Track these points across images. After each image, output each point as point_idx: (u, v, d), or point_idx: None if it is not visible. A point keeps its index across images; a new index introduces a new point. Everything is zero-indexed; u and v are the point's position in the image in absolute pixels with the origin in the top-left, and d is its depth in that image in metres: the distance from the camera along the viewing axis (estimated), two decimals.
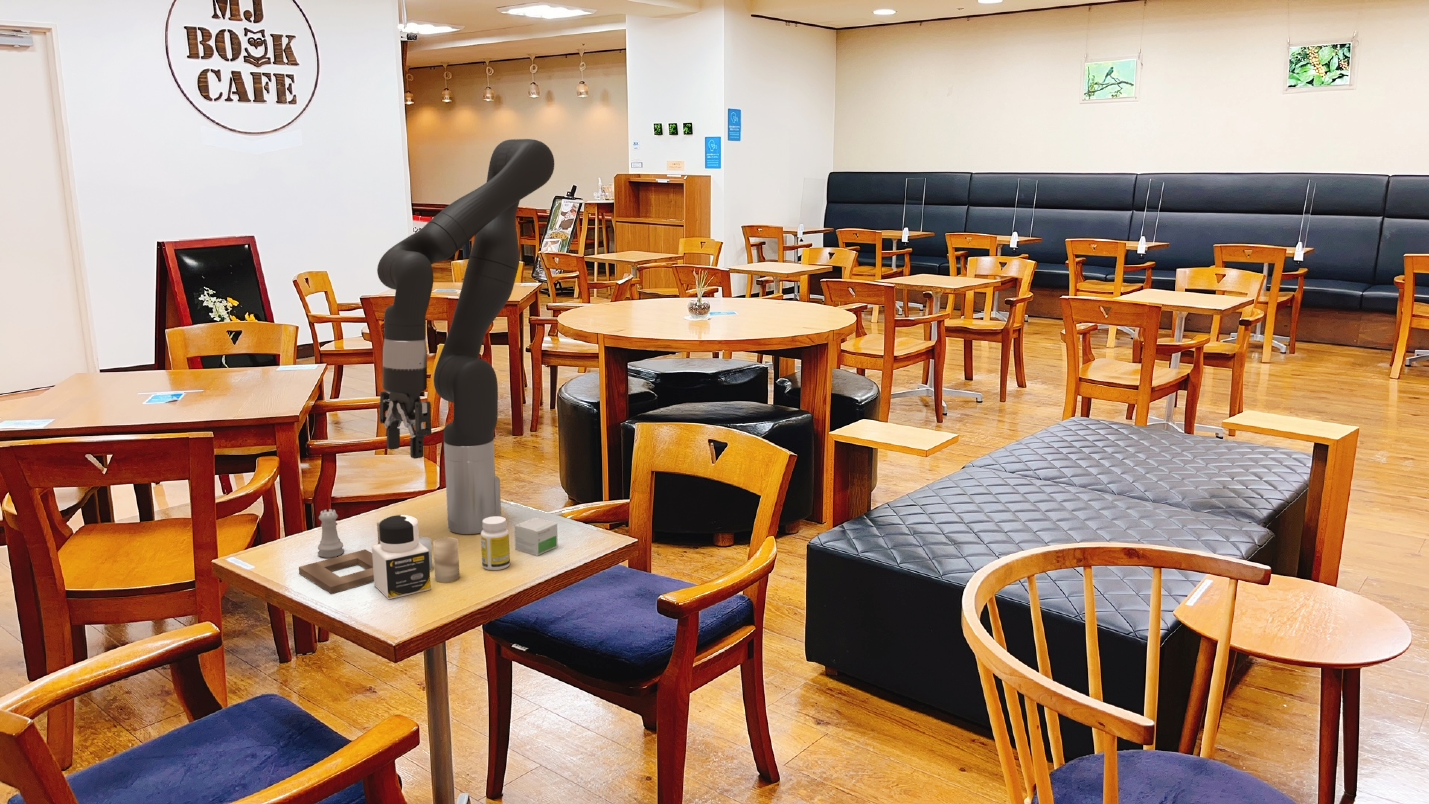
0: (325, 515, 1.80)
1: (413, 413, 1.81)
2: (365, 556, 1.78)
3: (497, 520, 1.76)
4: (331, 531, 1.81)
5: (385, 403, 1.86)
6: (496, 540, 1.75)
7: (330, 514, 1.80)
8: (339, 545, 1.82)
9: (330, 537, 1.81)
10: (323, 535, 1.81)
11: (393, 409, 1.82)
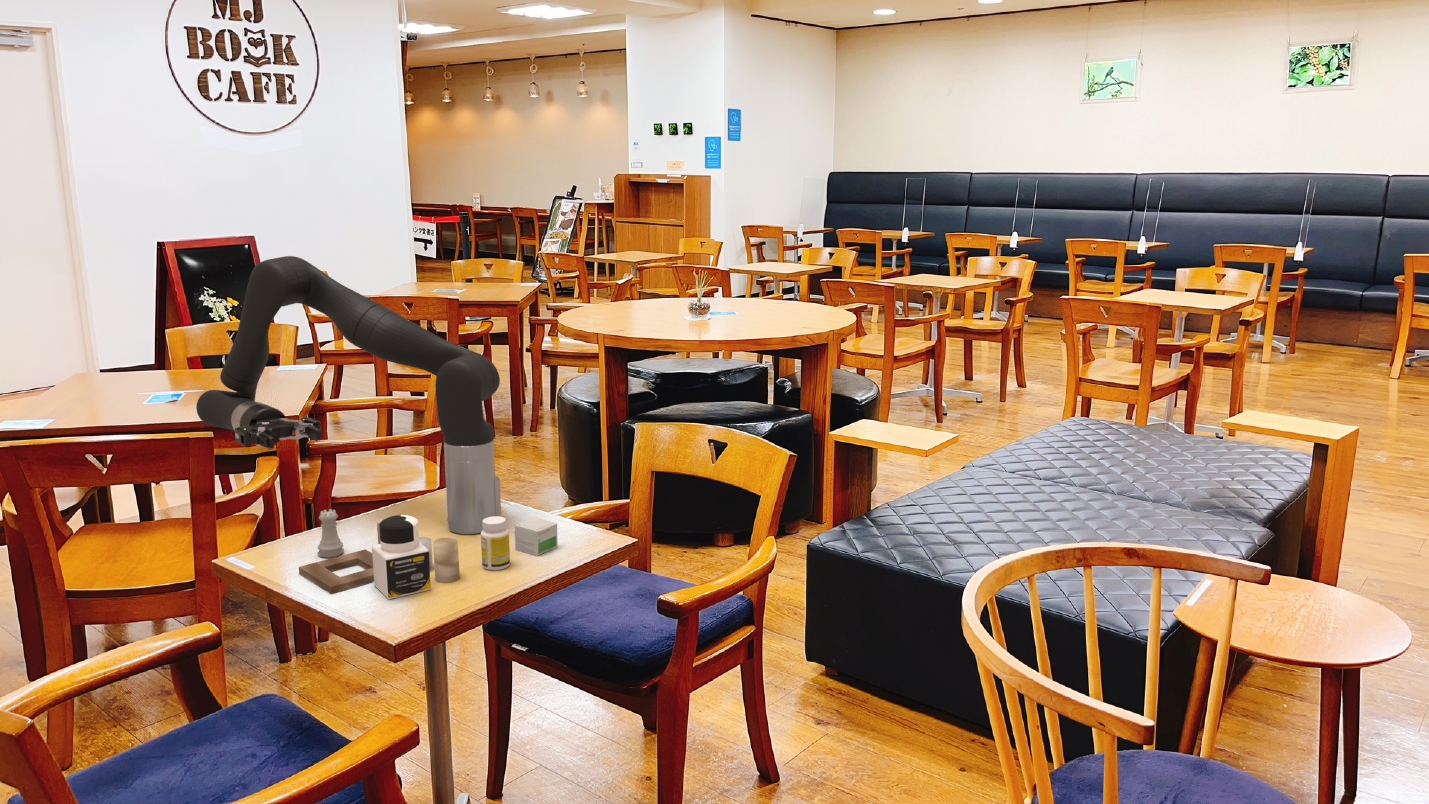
0: (325, 515, 1.80)
1: None
2: (365, 556, 1.78)
3: (497, 520, 1.76)
4: (331, 531, 1.81)
5: None
6: (496, 540, 1.75)
7: (330, 514, 1.80)
8: (339, 545, 1.82)
9: (330, 537, 1.81)
10: (323, 535, 1.81)
11: (284, 437, 1.93)
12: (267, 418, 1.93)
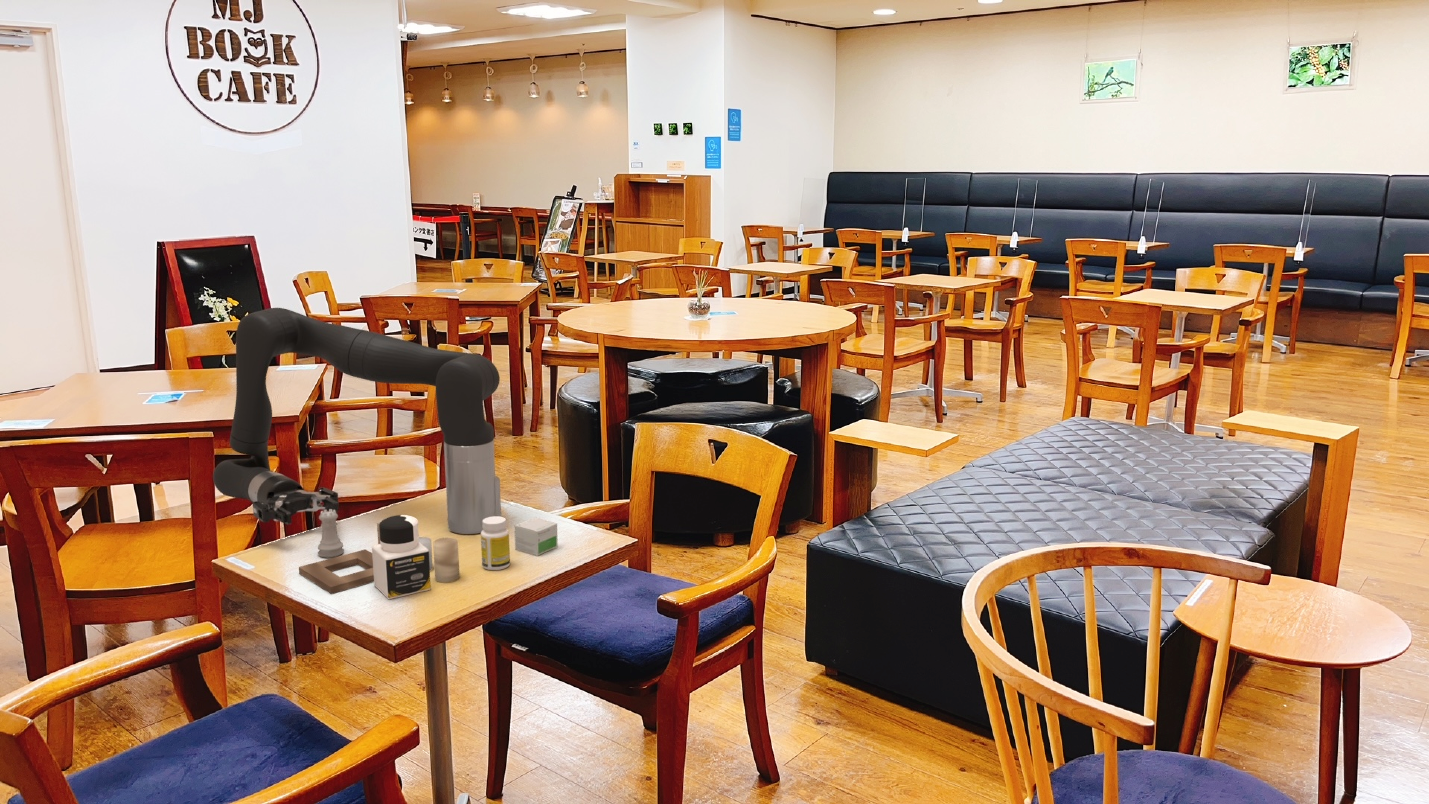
0: (325, 515, 1.80)
1: None
2: (365, 556, 1.78)
3: (497, 520, 1.76)
4: (331, 531, 1.81)
5: (323, 500, 1.95)
6: (496, 540, 1.75)
7: (330, 514, 1.80)
8: (339, 545, 1.82)
9: (330, 537, 1.81)
10: (323, 535, 1.81)
11: (301, 509, 1.92)
12: (284, 490, 1.93)
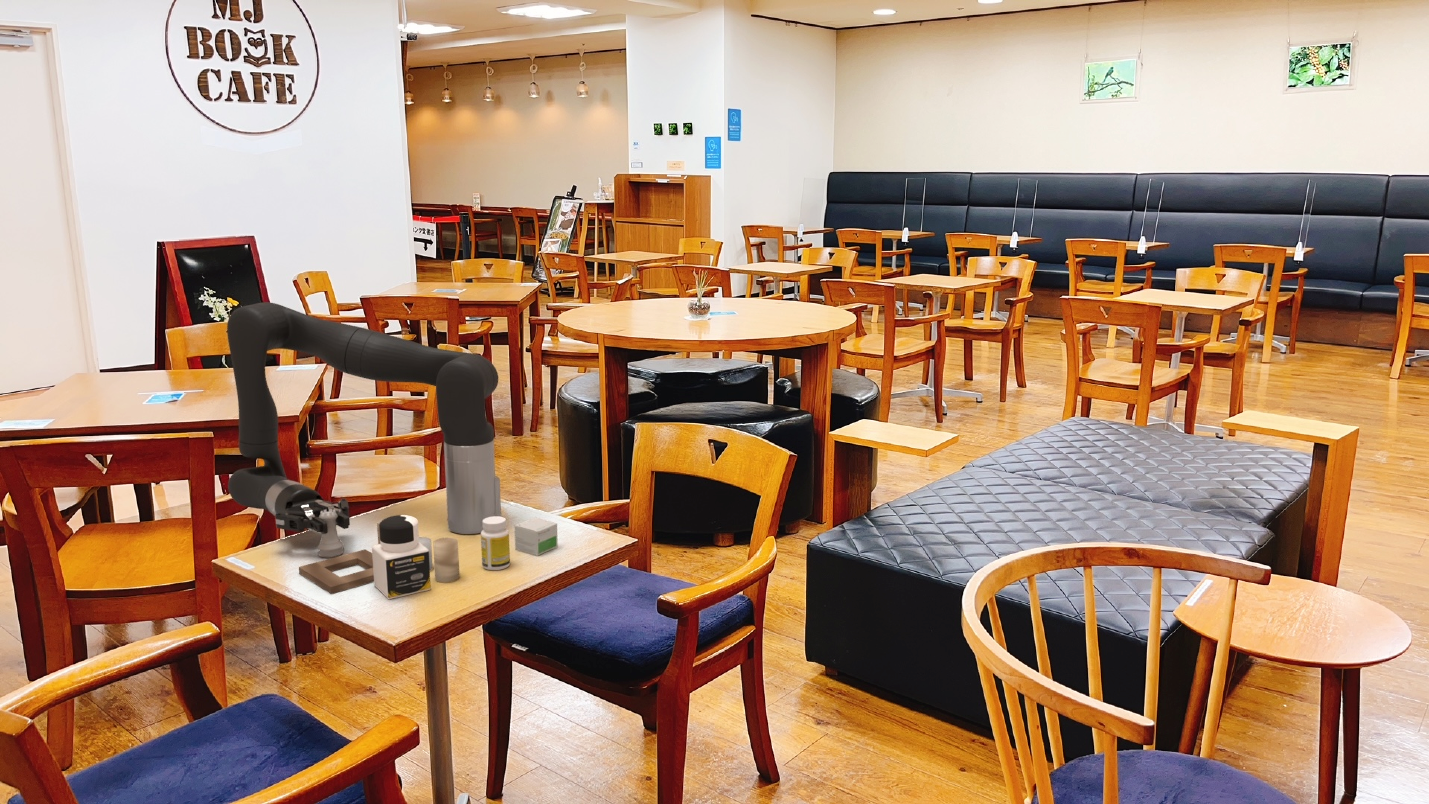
0: (325, 515, 1.80)
1: None
2: (365, 556, 1.78)
3: (497, 520, 1.76)
4: (331, 531, 1.81)
5: None
6: (496, 540, 1.75)
7: (330, 514, 1.80)
8: (339, 545, 1.82)
9: (330, 537, 1.81)
10: (323, 535, 1.81)
11: None
12: (303, 500, 1.87)
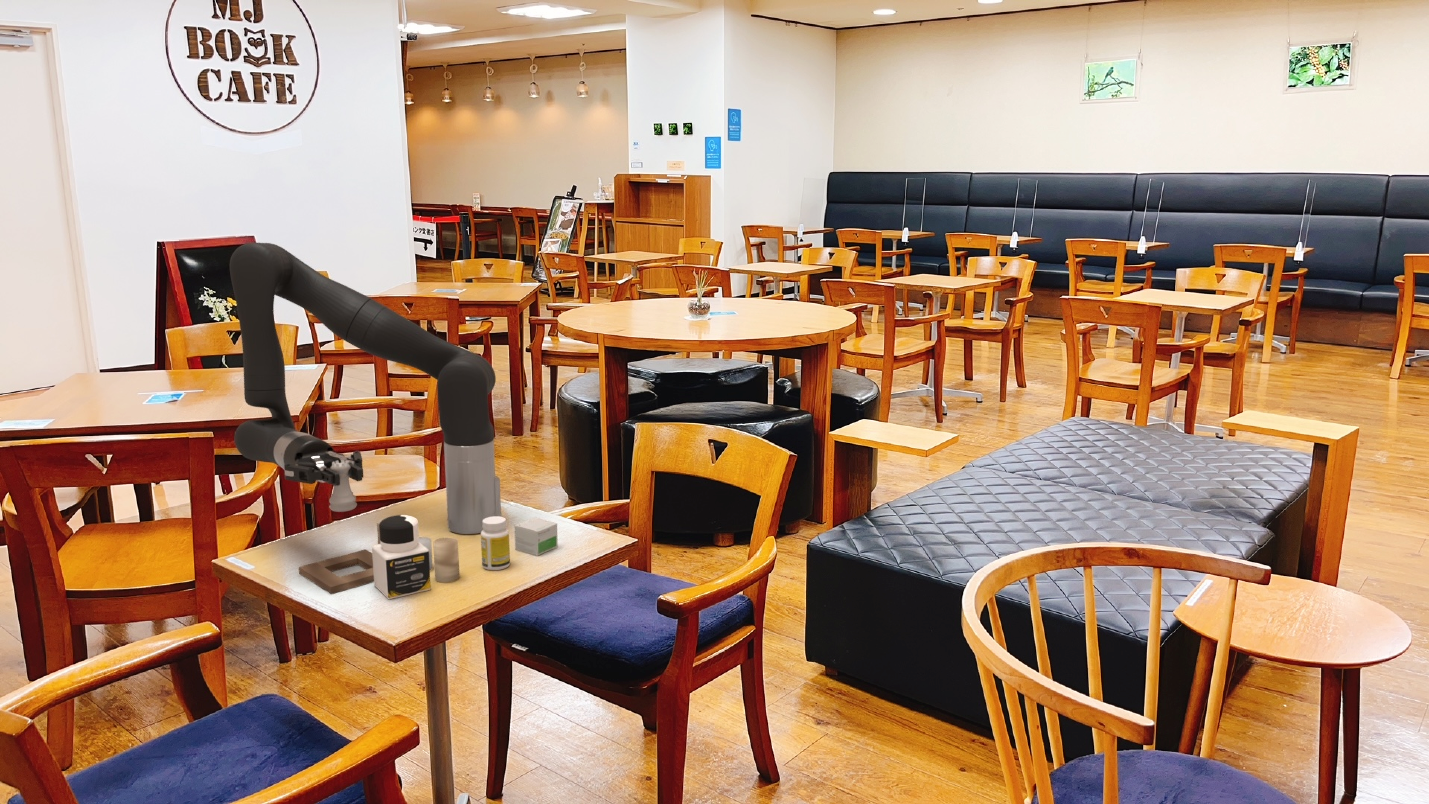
0: (337, 466, 1.68)
1: (313, 469, 1.72)
2: (365, 556, 1.78)
3: (497, 520, 1.76)
4: (343, 483, 1.69)
5: None
6: (496, 540, 1.75)
7: (342, 465, 1.69)
8: (352, 498, 1.70)
9: (342, 490, 1.69)
10: (335, 487, 1.69)
11: None
12: (314, 451, 1.76)
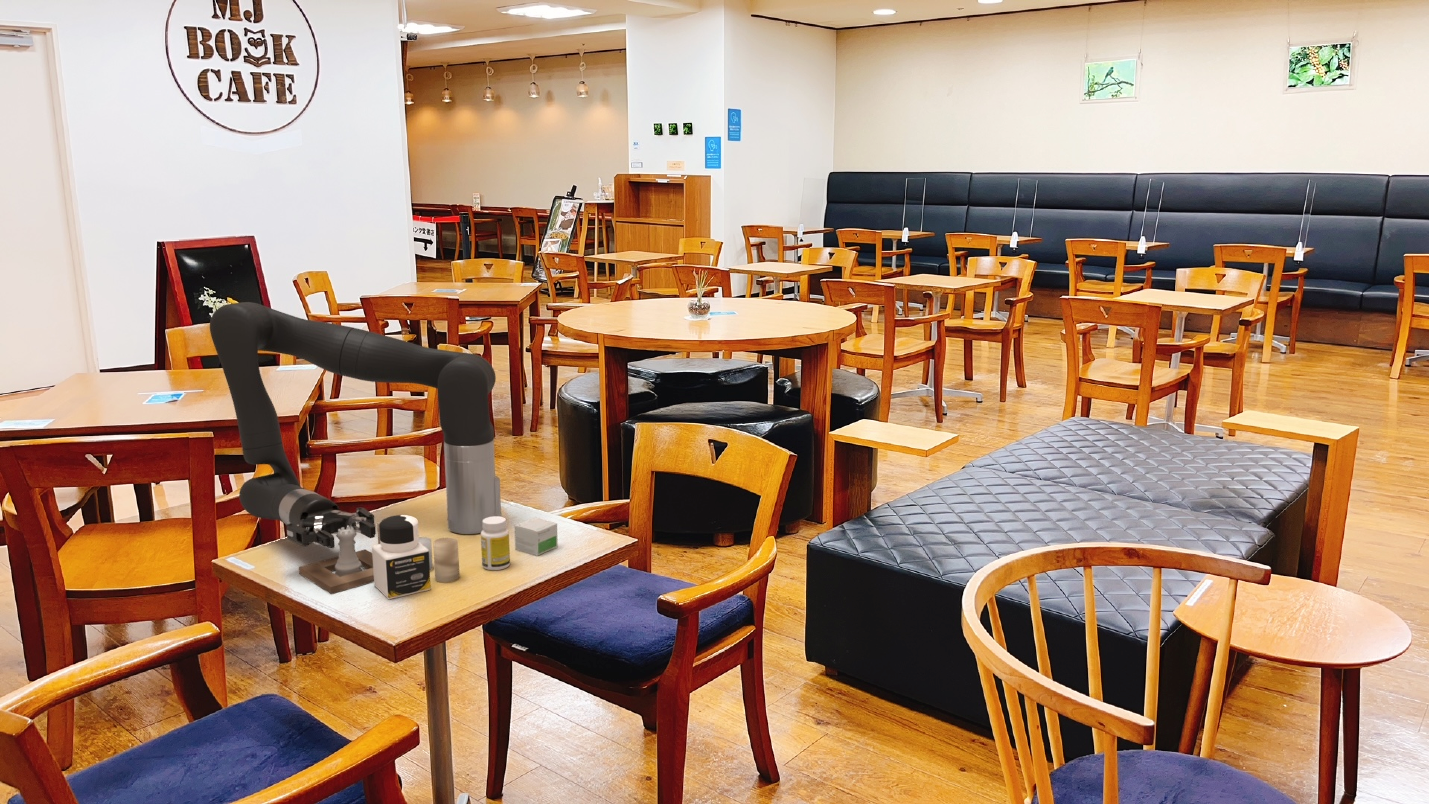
0: (343, 533, 1.71)
1: None
2: (365, 556, 1.78)
3: (497, 520, 1.76)
4: (349, 550, 1.72)
5: None
6: (496, 540, 1.75)
7: (348, 532, 1.71)
8: (357, 564, 1.73)
9: (348, 556, 1.72)
10: (341, 554, 1.72)
11: (337, 531, 1.77)
12: (319, 510, 1.78)
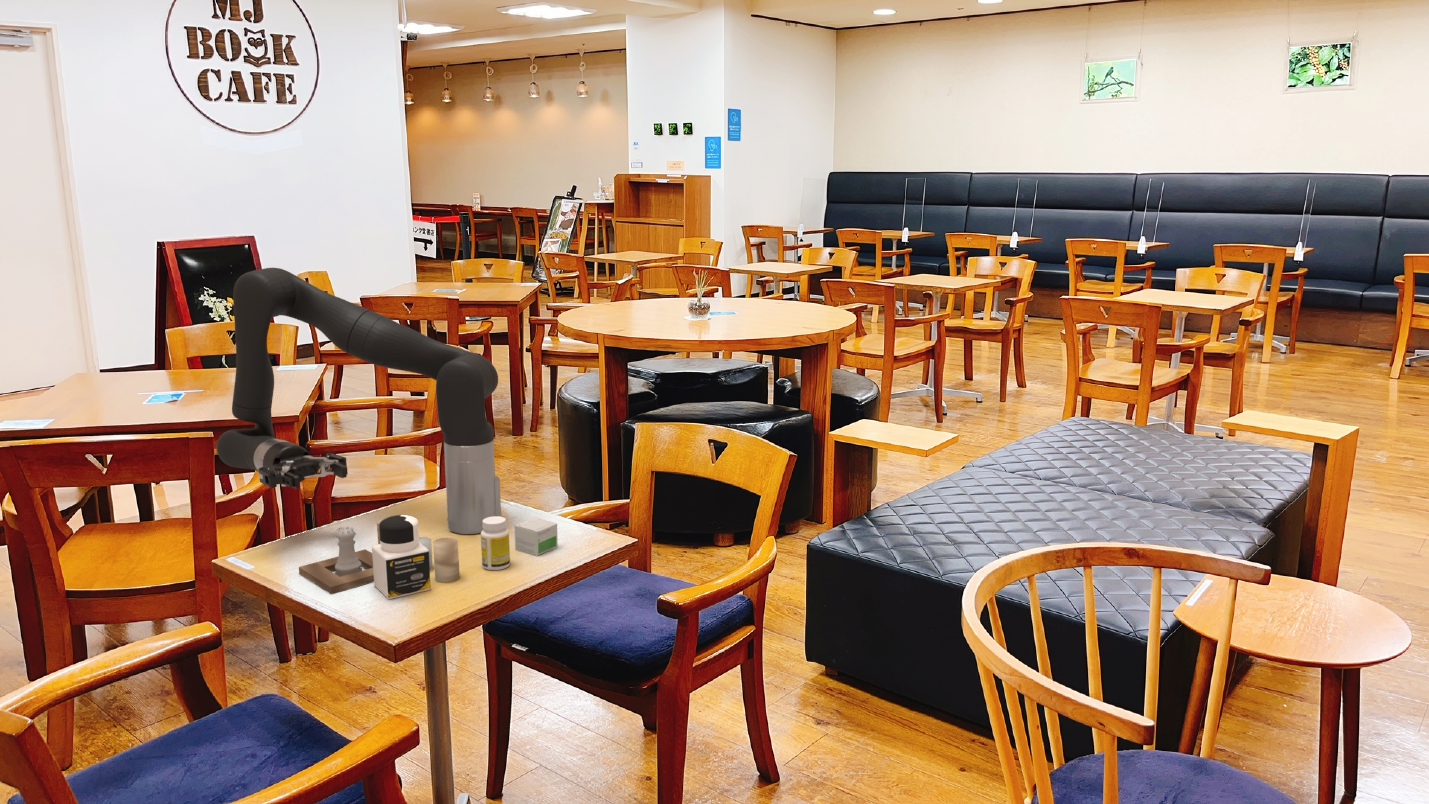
0: (342, 533, 1.71)
1: None
2: (365, 556, 1.78)
3: (497, 520, 1.76)
4: (349, 550, 1.72)
5: (331, 466, 1.89)
6: (496, 540, 1.75)
7: (348, 532, 1.71)
8: (357, 564, 1.73)
9: (348, 556, 1.72)
10: (340, 554, 1.72)
11: (309, 475, 1.86)
12: (291, 456, 1.87)
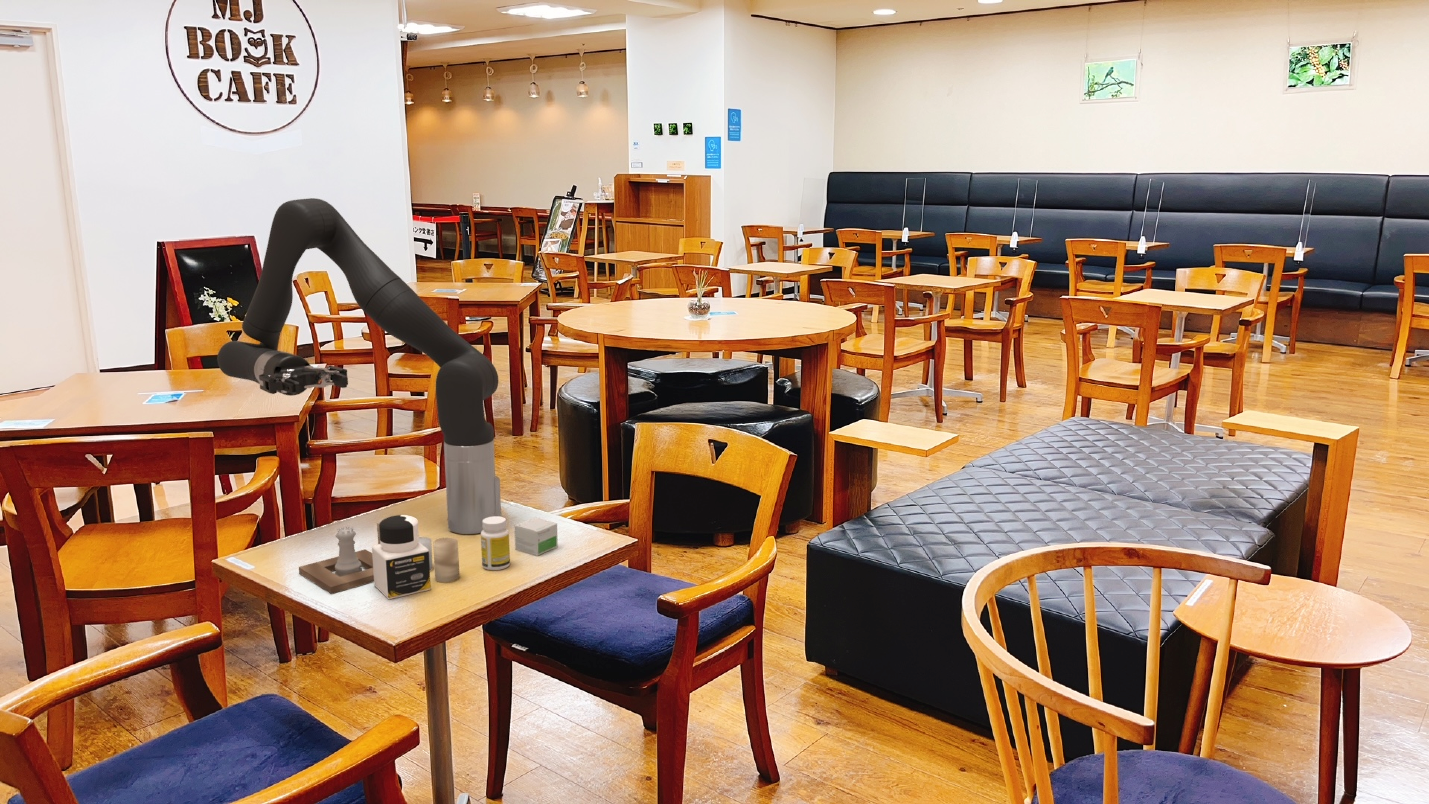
0: (342, 533, 1.71)
1: None
2: (365, 556, 1.78)
3: (497, 520, 1.76)
4: (349, 550, 1.72)
5: (332, 378, 1.89)
6: (496, 540, 1.75)
7: (348, 532, 1.71)
8: (357, 564, 1.73)
9: (348, 556, 1.72)
10: (340, 554, 1.72)
11: (309, 386, 1.86)
12: (292, 366, 1.87)
